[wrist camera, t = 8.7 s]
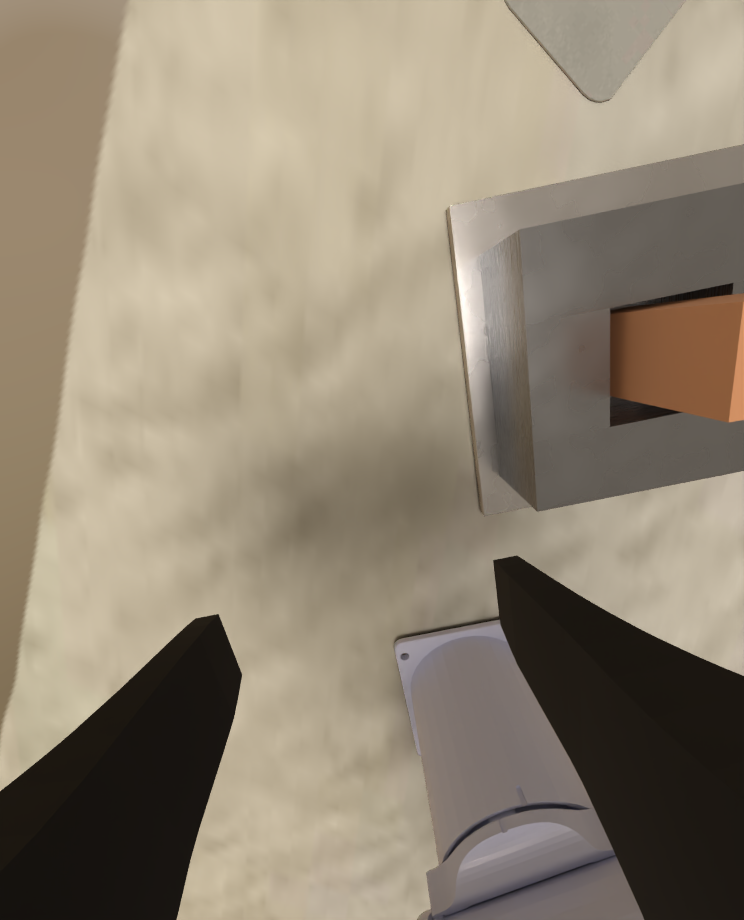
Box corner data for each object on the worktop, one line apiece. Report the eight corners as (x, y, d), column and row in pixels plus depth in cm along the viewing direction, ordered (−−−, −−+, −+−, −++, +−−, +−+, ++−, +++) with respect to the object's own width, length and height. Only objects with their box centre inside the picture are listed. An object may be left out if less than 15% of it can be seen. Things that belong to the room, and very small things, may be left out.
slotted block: (705, 466, 20) (805, 502, 16) (480, 511, 20) (516, 559, 16) (733, 150, 16) (881, 77, 11) (445, 210, 16) (481, 161, 11)
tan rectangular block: (630, 374, 18) (841, 401, 10) (566, 386, 18) (728, 422, 10) (632, 305, 17) (867, 278, 9) (565, 318, 17) (744, 301, 9)
